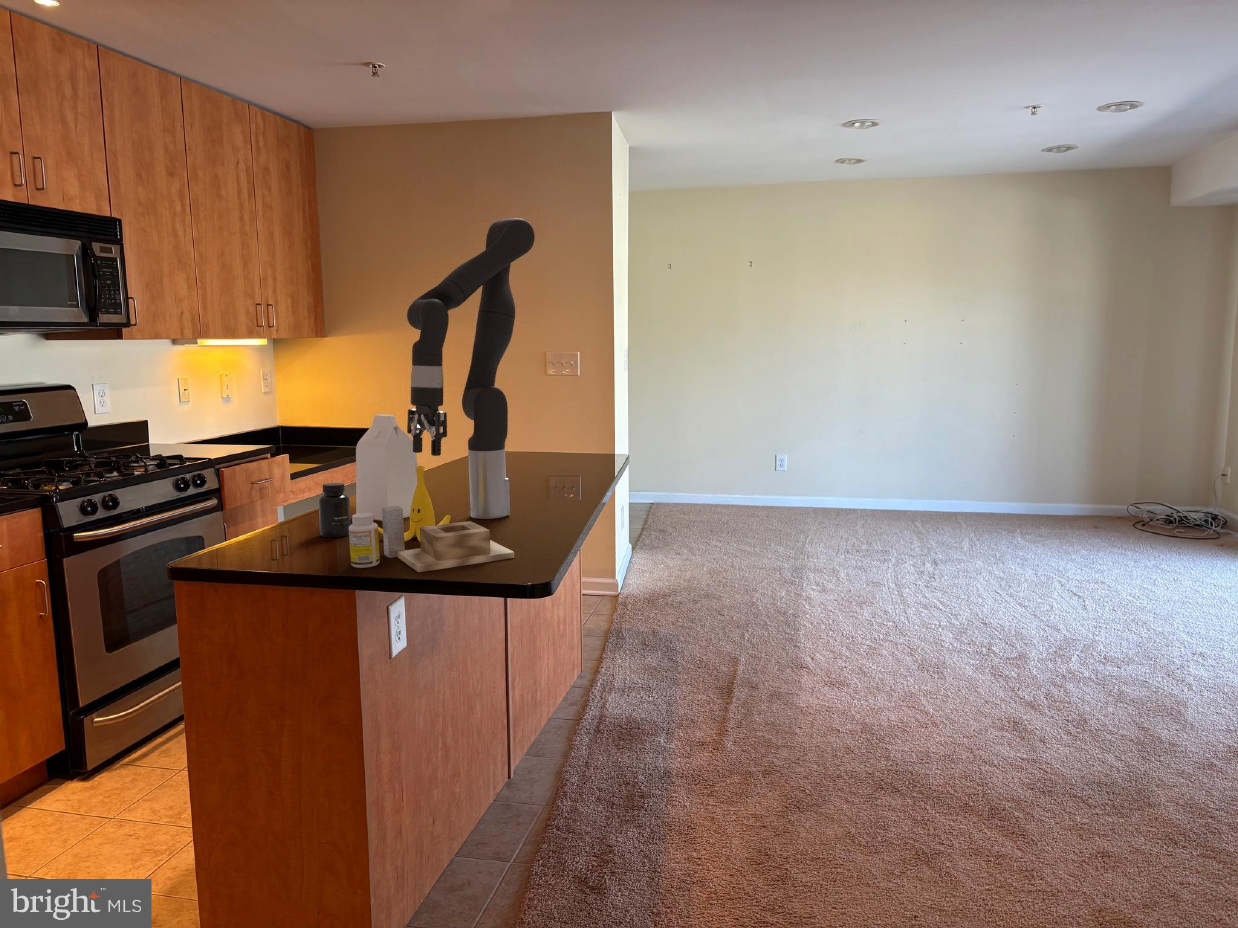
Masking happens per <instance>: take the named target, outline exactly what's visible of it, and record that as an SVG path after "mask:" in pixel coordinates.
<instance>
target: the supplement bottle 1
mask: <svg viewBox="0 0 1238 928" xmlns="http://www.w3.org/2000/svg"><path fill="white" fill-rule="evenodd" d="M345 491H346V489H345V483H343V482H328V483H322V490H321V492H322V493H323V495H321V496H320V497H319V499H318V515H319V516H318V518H319V520H318V521H319V534H320V536H321V537H323V538H331V539H332V538H342V537H346V536H349V526H350V525H352V523H351V503H350V501H351V500H350V497H349V496H348V495H347V494H345Z"/></svg>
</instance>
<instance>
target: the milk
mask: <svg viewBox="0 0 1238 928" xmlns="http://www.w3.org/2000/svg"><path fill="white" fill-rule="evenodd" d="M416 466H419V465H418V458H417V453H414V452H413V438H411V437H410V436H409V435H408V433H406V432H405V431H404V430H403V429H402V428H401V427H400V426H399V424H398V422H397V418H396V416H395V415H393V414H374V416H373V419H372V423H371V426H370V427H369V428H368V430H367V431H366V432H365V433H364V434H363V435H362V437H360V439H359V441H358V442H357V444H356V447H355V479H356V481H355V483H356V484H355V490H356V491H355V492H356V493H355V494H356V495H355V497H356V498H355V506H356V508H355V509H356V510H355V511H356V512H355V514H358V513H371V514H373V521H374V520H376V521H381V522H383V520H382V508H384V507H393V506H399V507H401V508H403V519H404V518H405V519H406V518H410V510H411V504H412V499H413V495H414V492H415V489H416V486H417V472H416V468H415V467H416Z"/></svg>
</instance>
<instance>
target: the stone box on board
mask: <svg viewBox="0 0 1238 928" xmlns="http://www.w3.org/2000/svg"><path fill="white" fill-rule="evenodd" d="M419 543H420V548H413V549H405V550H404V551H397V557H396V558H398V559H399V560H401V561H402V562H404V563H405V564H406V565H408V566H409V567H410V568H412V569H413V570H415V571H416V572H417V573H423V572H428V571H435V570H437V571H438V570H442V569H449V568H454V567H455V568H456V567H461V566H467V565H475V564H476V565H477V564H482V563H487V562H488V563H489V562H496V561H503V560H508V559H514V558H515V551H513V550H511V549H509V548H507V547H505V546H503V545H501V544H499V543H497V542H495V541H493V540H492V539H491V530H490V529H487V527H484V526H482V525H479V524H477V523H475V522H473V521H471V520H468V521H460V522H459V521H458V522H453V523H449V524H443V525H438V524H435V525H434V526H426V527H420V542H419Z"/></svg>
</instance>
